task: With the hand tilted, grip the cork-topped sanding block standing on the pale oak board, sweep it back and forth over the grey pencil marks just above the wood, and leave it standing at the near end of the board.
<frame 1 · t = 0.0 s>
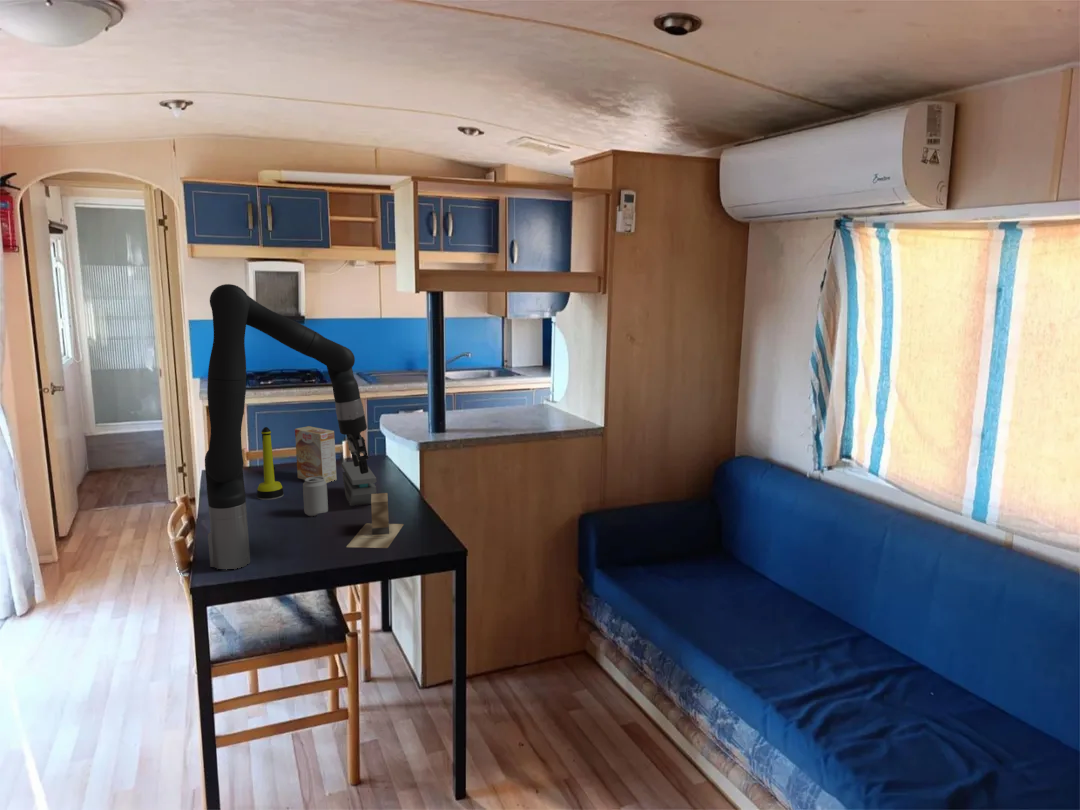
hand: (361, 469, 211), 22 cm above the table, tool pointing down, fingers open, 8 cm apart
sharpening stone: (359, 500, 255), on the table
sanding block: (380, 529, 223), point 1 cm above the table, touching board
flashlight: (270, 496, 260), on the table
can: (316, 514, 241), on the table
coffeecake box: (317, 479, 281), on the table
board: (376, 538, 218), on the table
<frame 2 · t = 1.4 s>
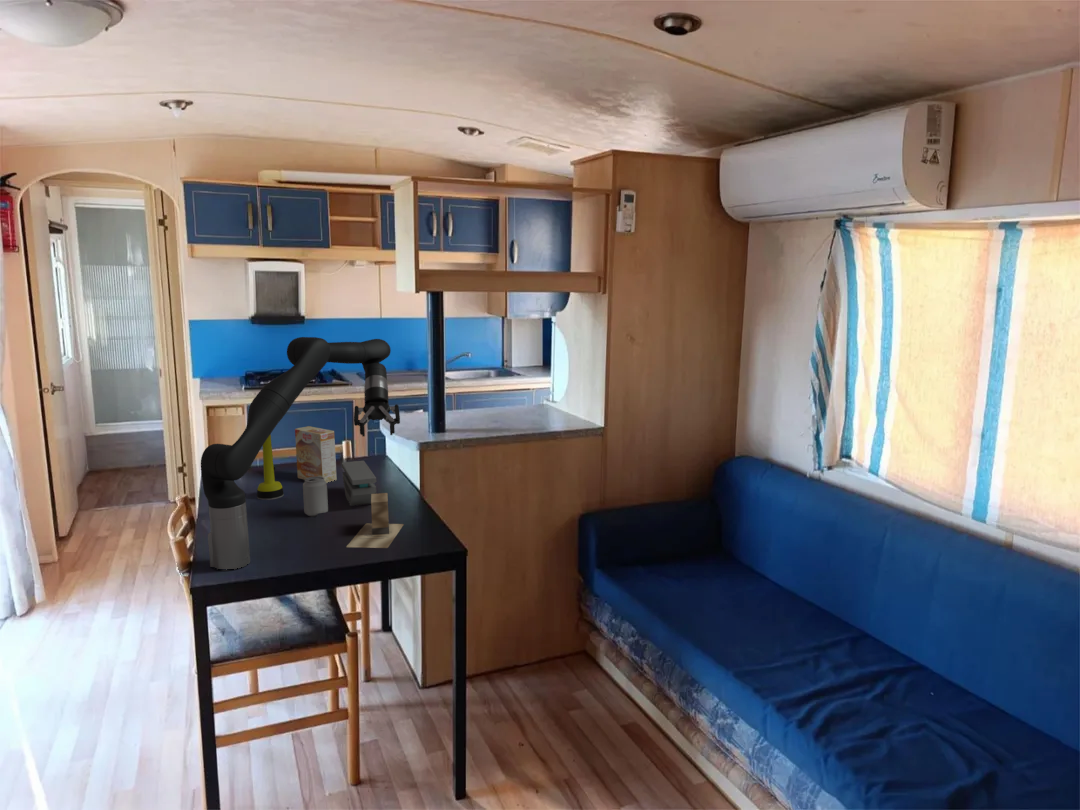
hand: (377, 434, 229), 28 cm above the table, tool tilted 45°, fingers open, 8 cm apart
nothing on the table moved.
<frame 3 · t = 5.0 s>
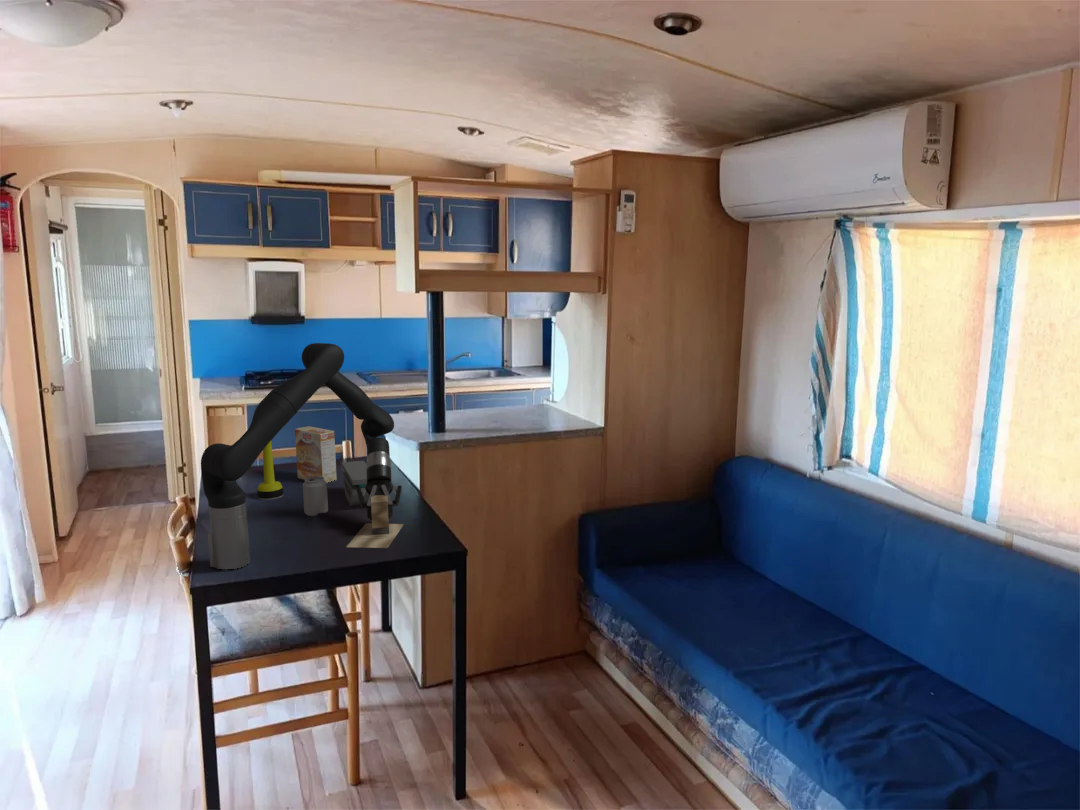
hand: (380, 518, 220), 5 cm above the table, tool tilted 45°, fingers closed on sanding block, 4 cm apart
sanding block: (380, 529, 223), point 1 cm above the table, touching board, gripper
everything else where it was.
when the fingers open (6 cm above the table, at t = 11.7 s): sanding block stays where it is, resting on board.
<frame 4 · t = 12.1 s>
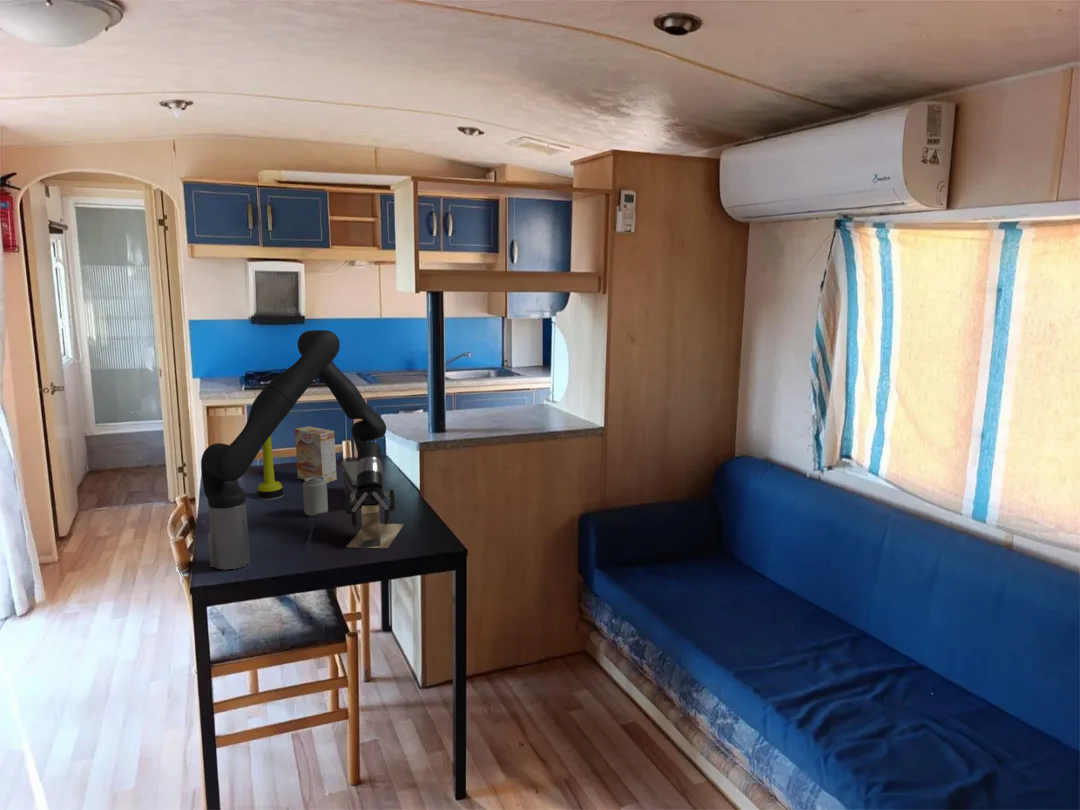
hand: (370, 524, 211), 7 cm above the table, tool tilted 45°, fingers open, 8 cm apart
sanding block: (371, 541, 213), point 1 cm above the table, touching board
everything else where it was.
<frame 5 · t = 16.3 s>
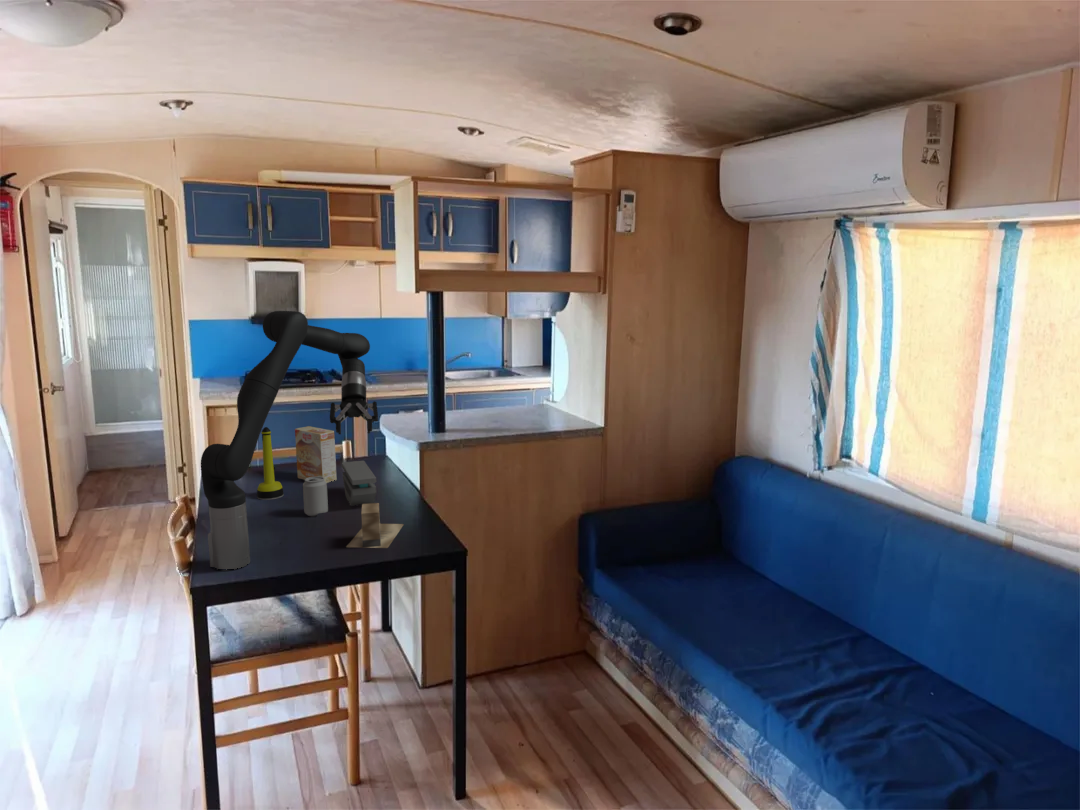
hand: (354, 432, 221), 31 cm above the table, tool tilted 45°, fingers open, 8 cm apart
nothing on the table moved.
at the end: sanding block inside the target area on the board (0.6 cm from its centre), point 1.2 cm above the board's base; sanding block tilted 0°; the gripper is holding nothing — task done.
